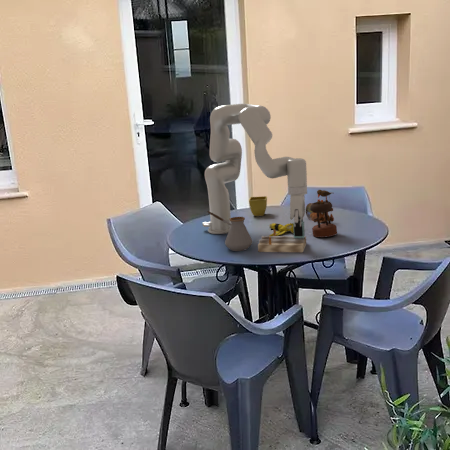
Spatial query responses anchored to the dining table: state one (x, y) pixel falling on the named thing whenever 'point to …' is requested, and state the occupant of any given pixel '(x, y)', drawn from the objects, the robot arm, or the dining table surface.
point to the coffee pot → (236, 234)
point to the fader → (300, 236)
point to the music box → (319, 208)
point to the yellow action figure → (281, 228)
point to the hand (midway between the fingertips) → (299, 234)
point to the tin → (312, 215)
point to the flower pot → (258, 205)
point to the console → (281, 244)
